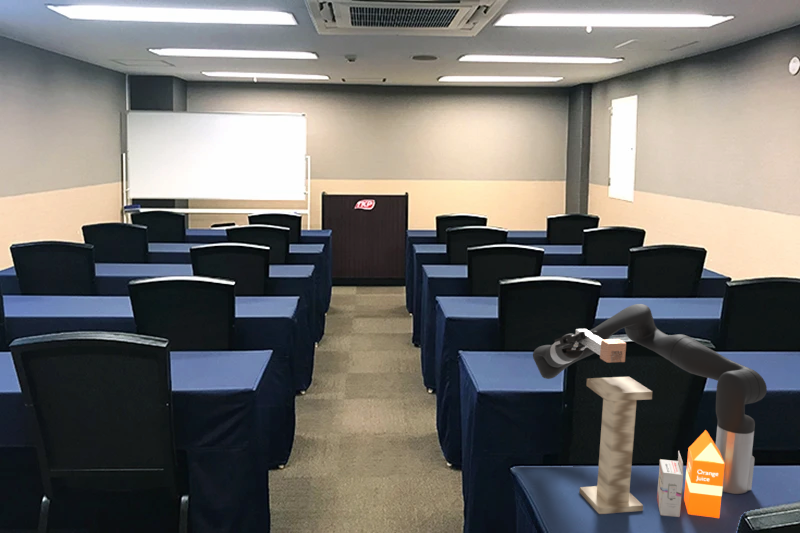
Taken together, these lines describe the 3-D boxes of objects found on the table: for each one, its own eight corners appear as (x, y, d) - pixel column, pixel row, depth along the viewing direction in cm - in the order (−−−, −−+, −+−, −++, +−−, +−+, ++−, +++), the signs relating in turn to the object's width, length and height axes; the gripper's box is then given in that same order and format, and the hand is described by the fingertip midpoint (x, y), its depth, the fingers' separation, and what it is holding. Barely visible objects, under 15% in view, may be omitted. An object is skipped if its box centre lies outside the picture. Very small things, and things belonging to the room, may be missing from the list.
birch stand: (620, 489, 207) (629, 376, 201) (642, 510, 195) (652, 391, 190) (579, 492, 204) (586, 378, 199) (599, 514, 193) (607, 393, 187)
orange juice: (687, 514, 194) (694, 440, 190) (683, 498, 202) (689, 427, 199) (720, 518, 192) (727, 443, 189) (714, 502, 200) (721, 430, 197)
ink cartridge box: (655, 500, 201) (659, 447, 198) (675, 502, 200) (679, 449, 198) (659, 515, 193) (664, 461, 190) (680, 518, 192) (685, 463, 189)
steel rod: (588, 338, 217) (589, 321, 216) (624, 361, 196) (626, 343, 195) (571, 339, 216) (572, 322, 215) (606, 362, 195) (608, 343, 194)
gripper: (542, 338, 226) (564, 322, 210) (586, 336, 229) (611, 320, 213) (546, 362, 224) (568, 348, 208) (590, 360, 226) (615, 347, 210)
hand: (590, 334), depth 210 cm, fingers closed on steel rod, 3 cm apart
